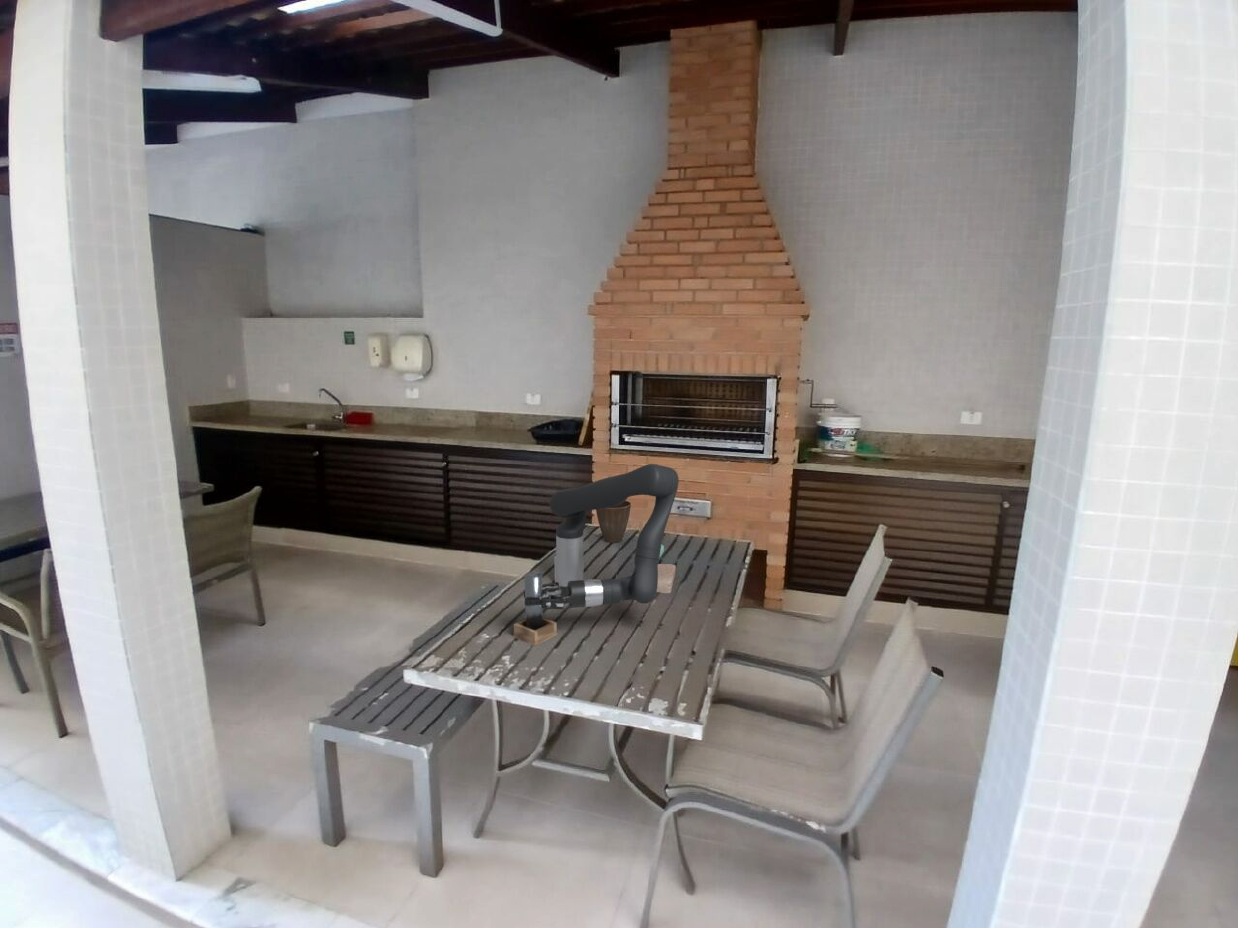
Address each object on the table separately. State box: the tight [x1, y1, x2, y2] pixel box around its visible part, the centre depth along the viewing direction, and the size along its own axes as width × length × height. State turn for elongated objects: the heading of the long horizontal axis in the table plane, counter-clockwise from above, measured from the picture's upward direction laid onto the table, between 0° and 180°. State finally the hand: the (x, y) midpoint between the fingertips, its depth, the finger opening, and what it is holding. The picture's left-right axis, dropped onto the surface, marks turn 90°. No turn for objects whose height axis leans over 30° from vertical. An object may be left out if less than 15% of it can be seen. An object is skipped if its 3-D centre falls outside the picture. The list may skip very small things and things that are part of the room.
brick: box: [656, 563, 677, 594], centre depth 218 cm, size 17×8×5 cm, turn 170°
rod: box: [524, 571, 544, 631], centre depth 175 cm, size 5×5×16 cm
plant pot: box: [595, 500, 632, 544], centre depth 265 cm, size 15×15×16 cm
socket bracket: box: [512, 617, 559, 647], centre depth 177 cm, size 9×9×4 cm
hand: (524, 597), depth 174 cm, fingers closed on rod, 4 cm apart
